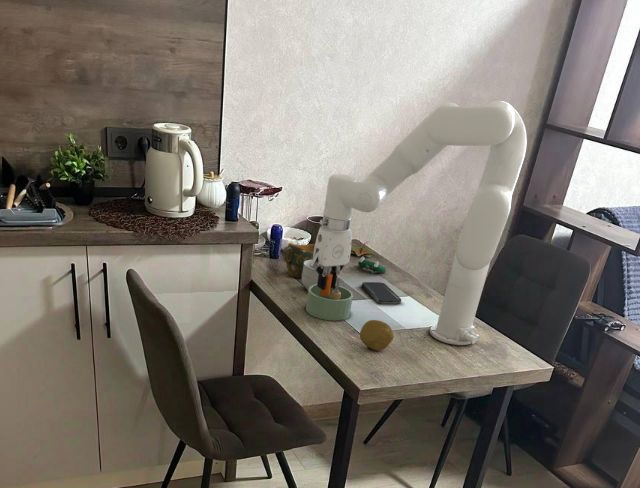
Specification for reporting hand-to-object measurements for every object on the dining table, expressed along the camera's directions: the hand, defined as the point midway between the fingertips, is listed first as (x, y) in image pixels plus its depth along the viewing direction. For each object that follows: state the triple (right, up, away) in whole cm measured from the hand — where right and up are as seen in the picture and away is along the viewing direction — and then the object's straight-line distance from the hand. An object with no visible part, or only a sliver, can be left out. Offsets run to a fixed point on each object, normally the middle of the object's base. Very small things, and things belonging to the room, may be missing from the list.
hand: (326, 287), depth 207 cm
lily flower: (+16, +24, +51) cm, 59 cm away
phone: (+18, +2, +19) cm, 26 cm away
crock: (+1, -7, +2) cm, 7 cm away
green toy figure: (+17, +14, +37) cm, 43 cm away
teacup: (-2, +2, +14) cm, 15 cm away
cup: (-5, +11, +27) cm, 30 cm away
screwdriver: (0, -2, +1) cm, 2 cm away
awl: (+2, -7, 0) cm, 8 cm away
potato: (+12, -20, -16) cm, 28 cm away
